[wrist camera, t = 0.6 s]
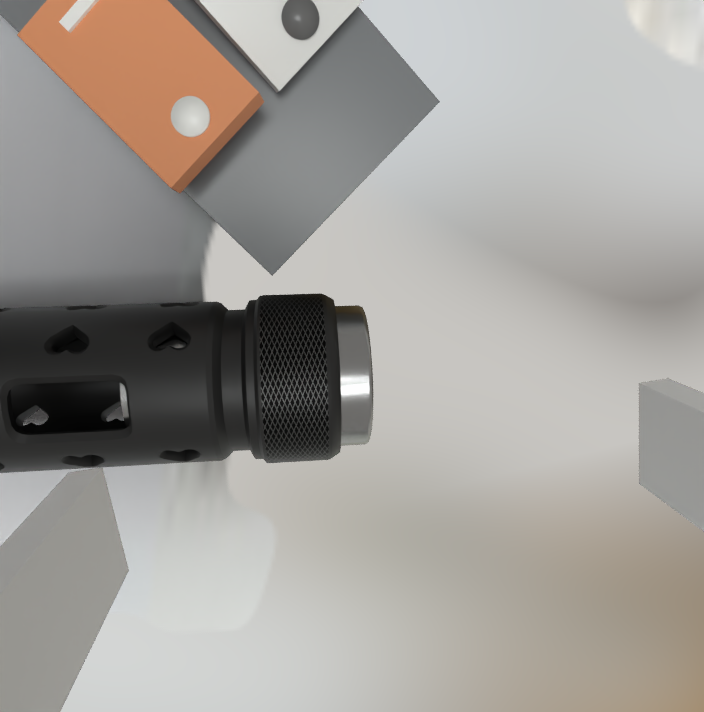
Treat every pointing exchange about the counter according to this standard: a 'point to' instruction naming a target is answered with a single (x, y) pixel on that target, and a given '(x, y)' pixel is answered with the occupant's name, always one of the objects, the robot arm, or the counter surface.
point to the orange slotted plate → (146, 79)
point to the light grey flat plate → (278, 31)
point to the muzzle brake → (183, 382)
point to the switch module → (299, 133)
